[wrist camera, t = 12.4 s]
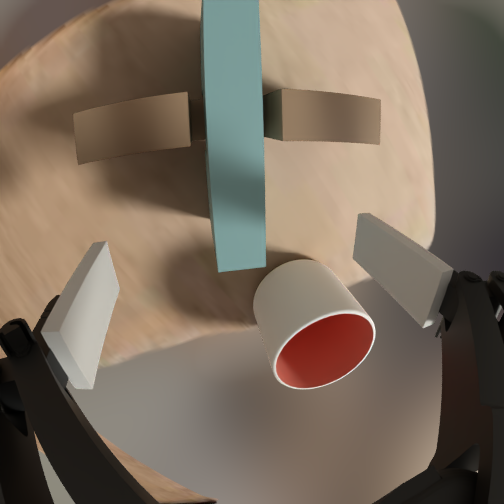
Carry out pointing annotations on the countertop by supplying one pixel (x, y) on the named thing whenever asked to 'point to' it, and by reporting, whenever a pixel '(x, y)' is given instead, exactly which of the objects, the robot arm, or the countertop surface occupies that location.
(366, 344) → the cup
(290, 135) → the u-notched wood block
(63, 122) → the countertop surface
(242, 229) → the teal arch piece
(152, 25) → the countertop surface
